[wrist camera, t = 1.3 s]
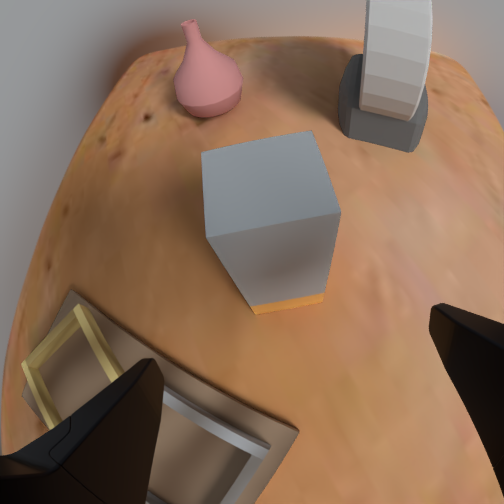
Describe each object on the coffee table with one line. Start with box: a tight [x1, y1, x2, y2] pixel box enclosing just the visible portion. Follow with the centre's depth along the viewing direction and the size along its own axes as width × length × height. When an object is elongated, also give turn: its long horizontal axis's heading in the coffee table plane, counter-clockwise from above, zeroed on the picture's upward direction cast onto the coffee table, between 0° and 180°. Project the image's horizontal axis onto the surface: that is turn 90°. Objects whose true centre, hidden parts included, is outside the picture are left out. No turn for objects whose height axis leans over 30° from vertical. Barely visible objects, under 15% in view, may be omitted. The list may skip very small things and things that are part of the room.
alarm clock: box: [338, 0, 432, 153], centre depth 21 cm, size 16×10×18 cm, turn 161°
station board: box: [21, 290, 299, 504], centre depth 19 cm, size 23×13×2 cm, turn 63°
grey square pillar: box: [201, 131, 341, 315], centre depth 17 cm, size 4×5×12 cm
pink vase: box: [174, 19, 243, 117], centre depth 28 cm, size 8×8×12 cm
